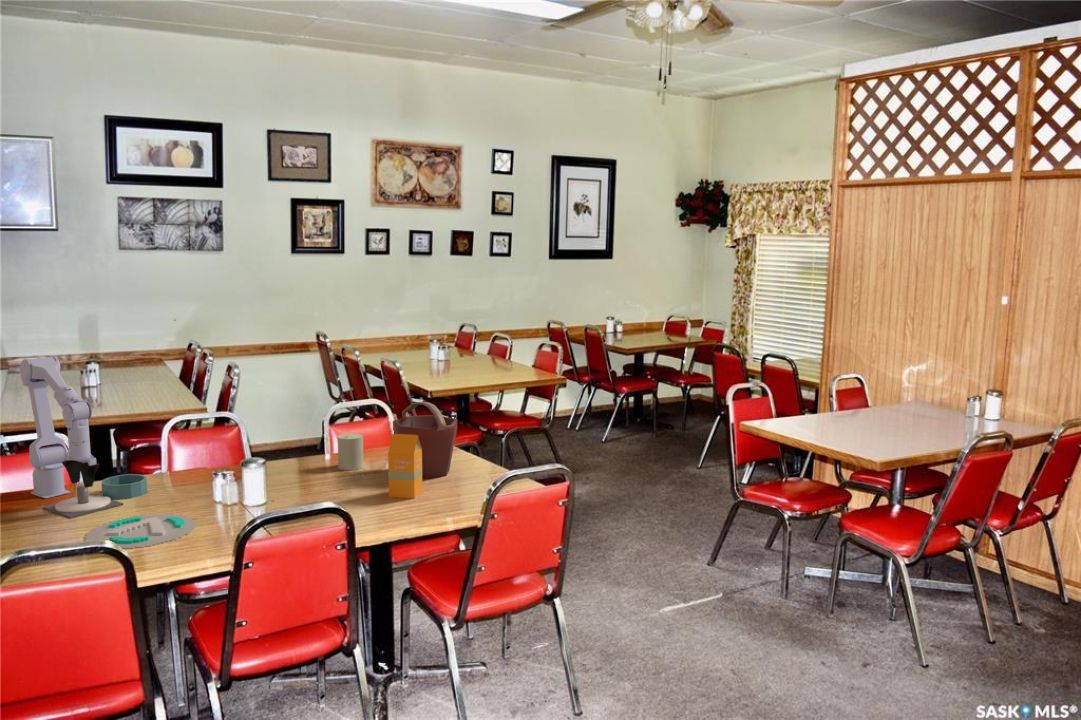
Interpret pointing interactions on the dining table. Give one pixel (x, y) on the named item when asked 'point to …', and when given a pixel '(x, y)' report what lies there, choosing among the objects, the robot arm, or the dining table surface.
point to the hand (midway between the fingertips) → (82, 484)
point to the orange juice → (405, 466)
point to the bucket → (430, 438)
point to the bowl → (124, 486)
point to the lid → (82, 502)
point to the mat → (72, 515)
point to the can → (350, 451)
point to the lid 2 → (143, 530)
